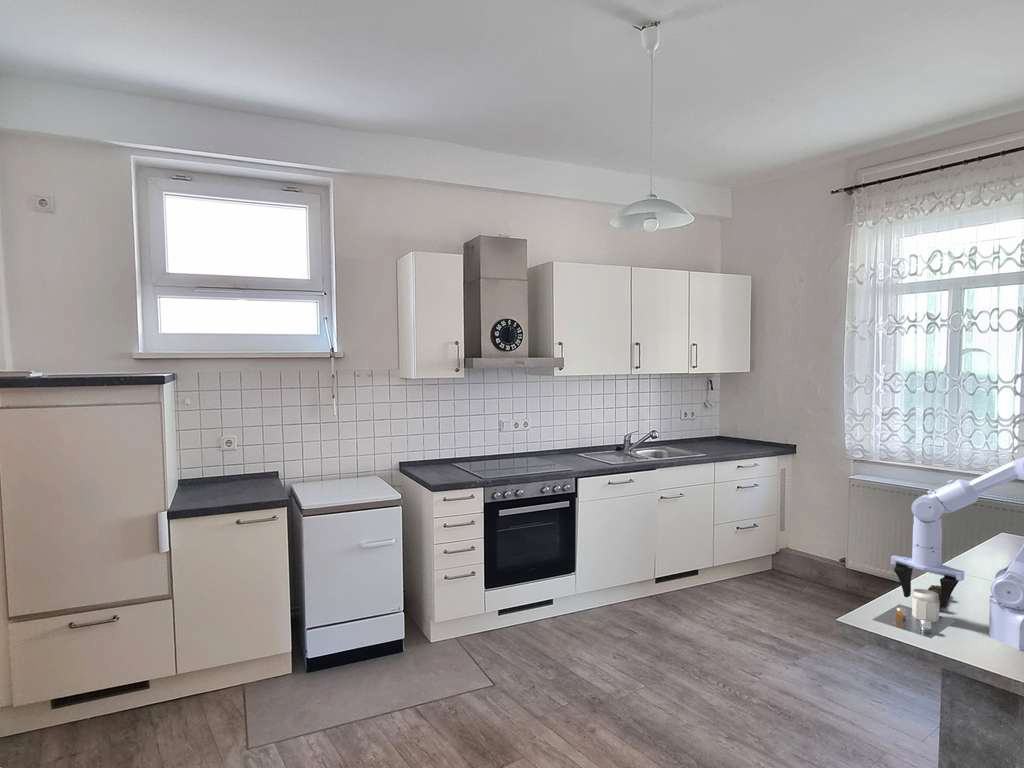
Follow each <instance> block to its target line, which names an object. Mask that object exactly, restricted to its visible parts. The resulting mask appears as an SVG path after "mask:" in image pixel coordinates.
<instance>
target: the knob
mask: <svg viewBox="0 0 1024 768" xmlns="http://www.w3.org/2000/svg"><path fill="white" fill-rule="evenodd" d="M912 592H913V593H912V595H913V596H912V598H911V600H912V601H911V608H912V615H913V616H914V617H915V618H917V619H927V620H930V621H931V622H937V621H938V620H939V616H940V611H939V594H937V593H936V592H933V591H930V590H928V589H924V588H915V589H913V591H912Z"/></svg>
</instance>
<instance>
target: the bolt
mask: <svg viewBox="0 0 1024 768" xmlns="http://www.w3.org/2000/svg"><path fill="white" fill-rule="evenodd" d="M927 590H930V591H933V592H936V593H937V594H939V612H940V611H941V610H942V609H943V608H942V607H941V585H938V584H937V585H934V584H932V585H930V586H929V587H928V588H927Z"/></svg>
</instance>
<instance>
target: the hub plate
mask: <svg viewBox="0 0 1024 768" xmlns="http://www.w3.org/2000/svg"><path fill="white" fill-rule="evenodd" d="M871 620H872V621H875V622H878V623H881V624H884V625H888V626H891V627H894V628H897V629H901V630H903V631H906V632H910V633H913V634H916V635H920V636H922V637H925V638H929V639H932V638H934V637H936V635H938V634H940V633H941V632H942V631H944V630H945V629H946V628H947V627H949V626H951V625H952V624H953V623H955V622H957V620H955V619H952V618H948V617H945V616H941V615H939V620H938V621H937V622H931V621H930V620H927V619H917V618H915V617H914V616H913V615H912V607H910V606H906V605H902V604H901V603H900V604H897V605H896V606H894V607H892V608H890V609H888V610H887V611H885V612H883V613H881V614H879V615H878V616H875V617H874V618H872V619H871Z"/></svg>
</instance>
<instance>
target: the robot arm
mask: <svg viewBox="0 0 1024 768" xmlns="http://www.w3.org/2000/svg"><path fill="white" fill-rule="evenodd" d="M1017 479H1018V480H1024V457H1023V456H1022V457H1020V458H1017V459H1014V460H1012V461H1009V462H1007V463H1005V464H1002V465H1001V466H999V467H997V468H994V469H992V470H991V471H989V472H986V473H984V474H982V475H981V476H978V477H976V478H974V479H972V480H966V479H962V478H961V479H959V478H958V479H956V480H955V479H951V480H948V481H947V484H946V485H944V486H942V487H939V488H937V489H935V490H933V489H930V490H928V491H927V494H923V495H921V496H919V497H917V498H916V499H915V500H913V501H912V504H911V507H910V508H911V513H912V515H913V524H912V549H911V551H912V552H911V555H912V556H911V557H906V556H900V555H895V554H894V555H891V556H890V564H891V565H894V566H895V567H894V568H893V569H894V573H895V574H896V576H897V578H898V580H899V582H900V585H901V589H902V593H903V597H904V598H909V597H911V595H912V585H911V584H912V583H911V581H912V574H913V569H914V570H916V571H921V572H926V573H929V574H934V575H938V576H941V578H940V579H939V584H940V586H941V607H942V609H945V608H947V607H948V604H949V601H950V598H951V595H952V593H953V591H954V589H955V588H956V586H957V585H958V583H959V582H963V581H964V580H965V571H964V570H961V569H957V568H953V567H950V566H948V565H945V564H942V549H943V548H942V545H943V544H942V541H943V540H942V539H943V527H942V516H943V515H944V514H950V513H954V512H956V511H958V510H961V509H962V508H965V507H967V506H970V505H972V504H974V503H976V502H978V499H979V494H981V493H984V492H987V491H989V490H991V489H994V488H996V487H999V486H1001V485H1004V484H1006V483H1009V482H1011V481H1014V480H1017ZM990 593H991V595H989V617H988V619H989V622H988V624H989V625H988V627H989V628H988V635H989V637H991V638H993V640H996V641H999V642H1000V643H1003V644H1005V645H1007V646H1010V647H1011V648H1013V649H1015V650H1018V651H1024V543H1023V544H1022V545H1021V547H1020V548H1019V550H1018V551H1017V553H1016V555H1015V556H1014V557H1013V559H1012V560H1011V562H1010V563H1009V564H1008V566H1006V567H1005V568H1002V569H1000V570H998V571H997V573H996V574H995V577H994V580H993V581H992V582H991V583H990Z"/></svg>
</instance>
